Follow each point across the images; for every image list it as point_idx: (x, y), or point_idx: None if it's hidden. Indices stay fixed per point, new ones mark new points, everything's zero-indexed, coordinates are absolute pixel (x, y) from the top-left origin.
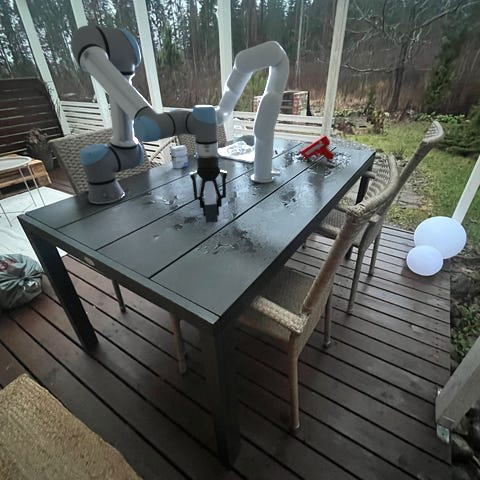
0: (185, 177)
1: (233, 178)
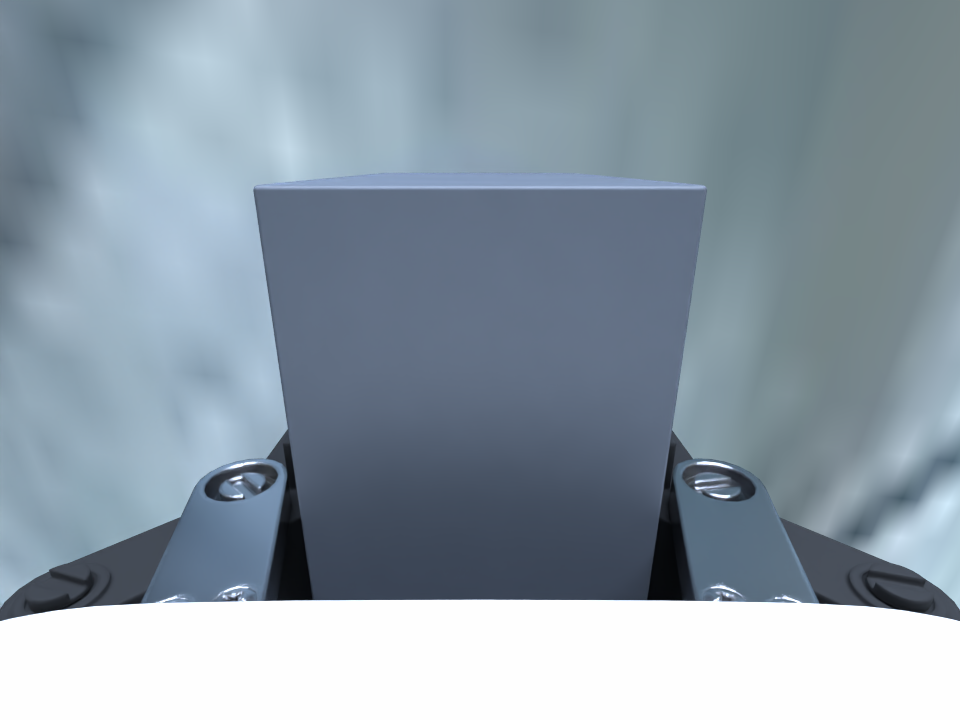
0: (24, 347)
1: (873, 490)
